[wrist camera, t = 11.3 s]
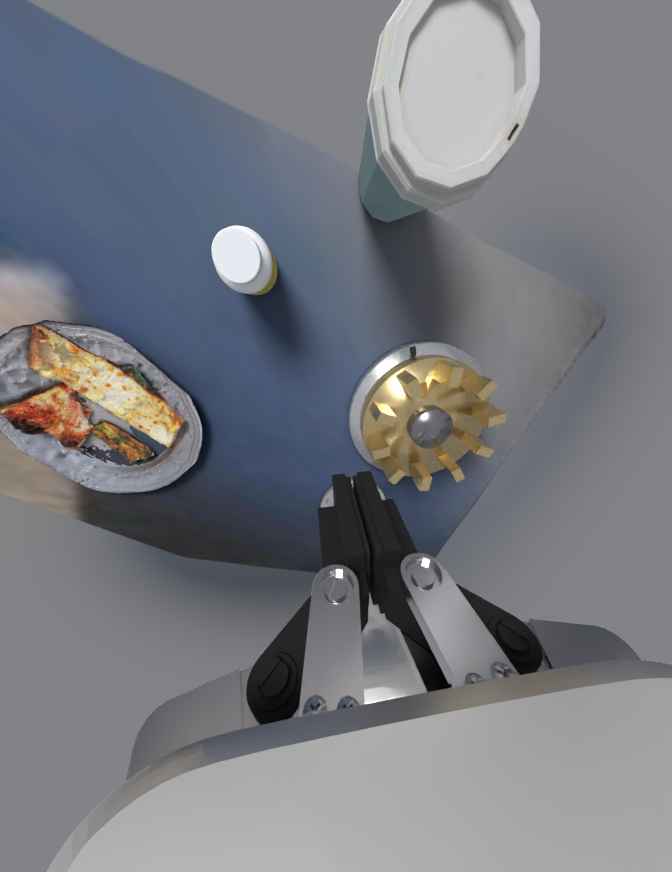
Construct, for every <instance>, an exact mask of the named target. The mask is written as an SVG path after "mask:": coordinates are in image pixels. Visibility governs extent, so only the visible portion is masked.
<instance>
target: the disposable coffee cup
mask: <svg viewBox="0 0 672 872" xmlns="http://www.w3.org/2000/svg"><path fill="white" fill-rule="evenodd" d="M539 67H540V22H539V20H538V18H537V15H536V13H535V11H534V9H533V6H532V4H531V2H530V0H402V1H401V3H400V4H399V6H398V7H397V9H396V10H395V12H394V13H393V15H392V16H391V18H390V19H389V21H388V22H387V24H386V26H385V29H384V30H383V32H382V33H381V35H380V38H379V43H378V49H377V53H376V59H375V64H374V69H373V74H372V80H371V85H370V90H369V95H368V100H367V106H368V112H369V113H368V119H367V126H366V132H365V139H364V145H363V152H362V158H361V164H360V171H359V177H358V186H359V191H360V196H361V201H362V204H363V205H364V207H365V208H366V209H367V211H368V212H369V213H370V215H371V216H372V217H373V218H375V219H378V220H381V221H384V222H387V223H388V222H391V221H394V220H397V219H400V218H403V217H406V216H409V215H412V214H415V213H418V212H420V211H423V210H426V209H431V210H434V211H437V210H440V209H443V208H445V207H449V206H451V205H454V204H457V203H460V202H463V201H466V200H468V199H471V198H472V196H473V195H474V194H475V193H476V192H477V191H478V190H479V189H480V188H481V187H482V186H483V185H484V184H485V182H486V181H487V180H488V179H489V178H490V177H491V176H492V174H493V173H494V172H495V171H496V170H497V169H498V167H499V166H500V165H501V164H502V163H503V161H504V160H505V158H506V156H507V154H508V153H509V151H510V149H511V148H512V146H513V145H514V143H515V141H516V140H517V138H518V136H519V134H520V133H521V131H522V129H523V126H524V124H525V121H526V118H527V116H528V113H529V111H530V108H531V105H532V103H533V100H534V97H535V95H536V92H537V89H538V87H539V72H540V68H539Z"/></svg>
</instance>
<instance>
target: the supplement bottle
mask: <svg viewBox="0 0 672 872" xmlns="http://www.w3.org/2000/svg"><path fill="white" fill-rule="evenodd" d="M212 257H213V261H214V264H215V268H216V270H217V272H218V274H219V276H220V277H221V279H222V280H223V281H224V282H225V283H226V284H227V285H228V286H229V287H230V288H232V289H233V290H235V291H237V292H240V293H245V294H251V295H262V294H265V293H267V292H269V291H270V290H271V289H272V288H273V286H274V285H275V283H276V280H277V275H278V269H277V263H276V260H275V258H274V255H273V254H272V252H271V250H270V249H269V247H268V246H267V244H266V243H265V241H264V240H263V239H262V238H261V237H260V236H259V235H258V234H257V233H256V232H255V231H253V230H251V229H249V228H247V227H244V226H230V227H228V228H225V229H223V230H221V231H220V232H218V234H217V235H216V236H215V238H214V240H213V243H212Z"/></svg>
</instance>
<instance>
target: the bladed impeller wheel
mask: <svg viewBox="0 0 672 872" xmlns="http://www.w3.org/2000/svg"><path fill="white" fill-rule="evenodd" d="M497 388H498V386H497V385H496V384H495V382H494V381H493V380H491V379H489V378H486V377H484V376H482V375H480V374H478V373H477V372H476V371H475V370H474V369H473V368H471V367H470V366H468V365H466V364H465V363H463V362H460V361H458V360H455V359H453V358H450V357H447V356H442V355H433V354H430V355H421V356H416V357H412V358H410V359H407V360H404V361H402V362H400V363H398V364H396V365H395V366H393V367H392V368H390V369H389V370H388V371H387V372H385V373H384V374H383V375H382V376H381V377H380V378H379V379H378V380H377V381H376V382H375V384H374V385H373V386H372V388H371V389H370V391H369V392H368V394H367V396H366V398H365V401H364V403H363V406H362V410H361V414H360V431H361V436H362V439H363V442H364V444H365V446H366V449H367V451H368V453H369V455H370V456H371V457H372V459H373V460H374V461H375V462H376V463H377V464H378V465H379V466H381V467H382V469H383V471H384V473H385V475H386V477H387V479H388V481H390V482H391V483H393V484H394V485H395V484H396V483H397V482H398V481H399V480H400V479H401V478H402V477H403V476H411V478H412V479H413V481H414V483H415V484H416V486H417V487H418V489H419V491H429V487H430V484H431V480H432V477H431V475H430V474H431V473H434V472H437V471H439V470H442V469H445V470H446V471H447V472H448V473H449V474H450V476H451V477H452V478H453V479H454V480H455V482H456V483H457V482H459V481H461V480H462V479H464V478H465V477H464V475H463V473H462V471H461V469H460V467H459V466H458V465H457V464H456V463H455V462H456V461H457V460H459V459H460V458H461V457H462V456H463V455H465V454H466V453H467V452H468V451H469V450H470V449H471V450H472V451H473V452H474V453H475V454H478V455H481V456H484V457H487V458H489V457H490V455H491V454H492V453H493V451H494V449H492V448H491V447H490V446H489V445H487V444H486V443H485V442H484V441H482V440H481V439H480V438H479V436H480V434H481V432H482V431H483V429H484V426H485V425H486V426H487V427H491V426H495V425H498V424H502V423H505V422H506V413H505V412H504V411H502V410H500V409H498V408H496V407H495V406H493V405H491V404H489V397H488V396H489V395H490V394H491V393H492V392H493V391H494V390H495V389H497Z"/></svg>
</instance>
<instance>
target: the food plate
mask: <svg viewBox="0 0 672 872" xmlns="http://www.w3.org/2000/svg"><path fill="white" fill-rule="evenodd" d="M80 398H84V399H85V400H86V403H83V402H82V401H81V400H80ZM102 412H104V413H102ZM109 416H110V417H109ZM108 417H109V418H108ZM131 425H132V426H133V428H135V429H137V430H139V431H141V432H143V433H145V434H147V435H149V436H150V437H151V438H153V439H155V440H156V441H158V442H159V443H161V444H164V445H166V446H167V449H166V450H165V451H164V452H163V453H162V454H160V455H159V456H158V457H157V458H155V460H153V461H152V462H148V463H146V464H141V465H133V466H126V465H123V464H122V466H120V465H116V463H114V462H113V463H112V462H111V461H108V460H106V461H107V462H108V463H104V462H102V460H99V459H96V458H95V457H94V458H90V457H93V456H91V455H90V454H89V453H86V454H89V455H90V457H88V456H86V455H83V454H81V453H80V452H79V451H78V450H79V449H80V450H81V451H84V448H80V447H81V446H86V448H88V447H91V446H92V445H95V446H97V447H98V448H99V449H103V450H104V451H106V450H107V449H109V450H111V449H114V450H115V451H118V452H119V453H121V455H123V456H124V458H126V459H127V460H129V461H131V462H135V461H137V460H139V459H143V460H146V459H148V458H149V457H151V456H154V450H153V449H151V447H149V446H148V444H146V443H145V442H143V441H142V440H140V439H139V438H137V437H136V436H135V435H133V433H132V430H130V426H131ZM126 429H127V430H128V431H126ZM0 432H1V433H2V434H3V435H5V436H6V437H8V438H9V439H10V440H11V441H12V443H13V444H14V445H15V446H16V447H17V449H19V450H20V451H21V452H23V453H24V454H26V455H29V457H31V458H34V459H35V460H36V461H38V462H40V463H42V464H43V465H46V466H48V467H49V468H51V469H52V470H54V471H56V472H58V473H62V475H64V476H66V477H68V478H69V479H72V480H74V481H75V482H80V483H81V484H82V485H83V486H85V487H87V488H91V489H95V490H99V491H101V492H111V493H131V492H146V491H151V490H152V491H153V490H154V489H158V488H161V487H163V486H166V485H169V484H170V483H171V482H173V481H174V480H176V479H177V478H179V477H180V476H181V475H182V474H183V473H184V472H186V471H187V470H188V469H189V468H190V467H191V466H192V465H194V464H195V462H196V461H197V458H198V454H199V452H200V449H201V443H202V438H203V437H202V425H201V422H200V417H199V415H198V412H197V411H196V409H195V406H194V405H193V402H192V400H191V397H190V396H189V395H188V394H187V393H186V392H185V393H184V391H183V390H182V389H181V388H180V387H179V386H178V385H176V384H175V383H174V382H173V381H172V380H171V379H169V378H168V377H167V375H165V374H164V373H163V372H162V371H161V370H159V369H158V368H157V367H156V366H155V365H154V364H152V363H151V362H150V361H148V359H146V358H145V357H144V356H143V355H141V354H140V353H139V352H138V351H137V350H136V349H135V348H133V347H132V346H131V345H130V344H129V343H128V342H127V343H125V340H124V339H122V338H120V337H118V336H116V335H115V334H113V333H111V332H110V331H107V330H104V329H101V328H99V327H94V326H90V325H83V324H72V323H64V322H56V321H49V320H46V321H45V320H44V321H41V322H38V323H36V324H31V325H22V326H18V327H15V328H13V329H11V330H10V331H9V332H8V333H5V334H3V335H2V336H0ZM104 445H105V447H103V446H104ZM109 447H111V448H109ZM92 449H93V450H95V447H94V448H93V447H92ZM85 450H86V451H87V449H85ZM71 452H72V453H73V454H71ZM108 454H109V453H108ZM108 454H106V456H108ZM94 456H95V455H94ZM109 457H110V456H109ZM102 459H103V458H102ZM110 462H111V463H110ZM130 464H131V463H130Z"/></svg>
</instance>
